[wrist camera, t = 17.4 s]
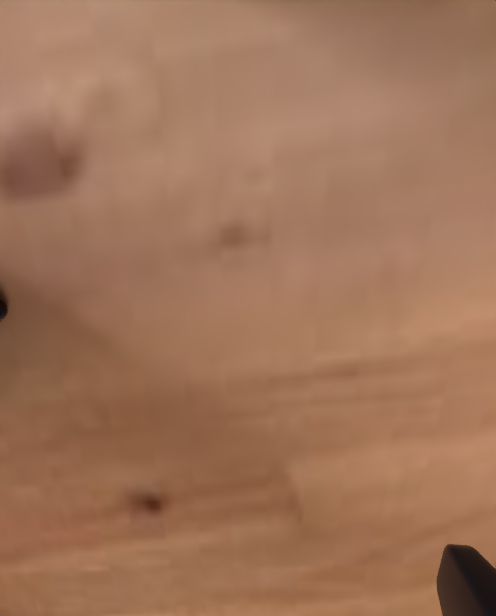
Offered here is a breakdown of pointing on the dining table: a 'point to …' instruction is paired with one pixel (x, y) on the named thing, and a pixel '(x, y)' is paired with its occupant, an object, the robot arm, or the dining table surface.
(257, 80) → the dining table surface
